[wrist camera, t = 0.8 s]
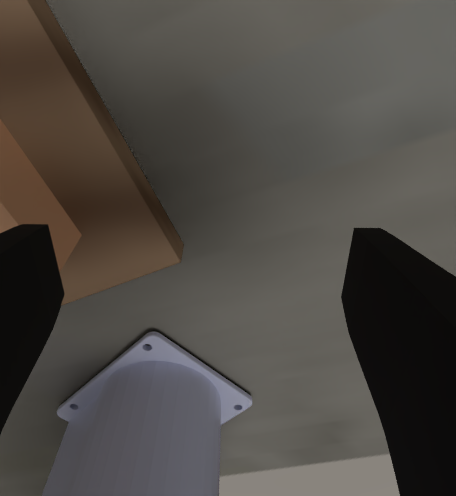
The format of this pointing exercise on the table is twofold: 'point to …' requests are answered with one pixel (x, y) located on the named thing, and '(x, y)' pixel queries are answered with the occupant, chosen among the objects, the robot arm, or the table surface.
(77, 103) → the walnut board
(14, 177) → the collar
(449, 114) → the table surface
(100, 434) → the robot arm
